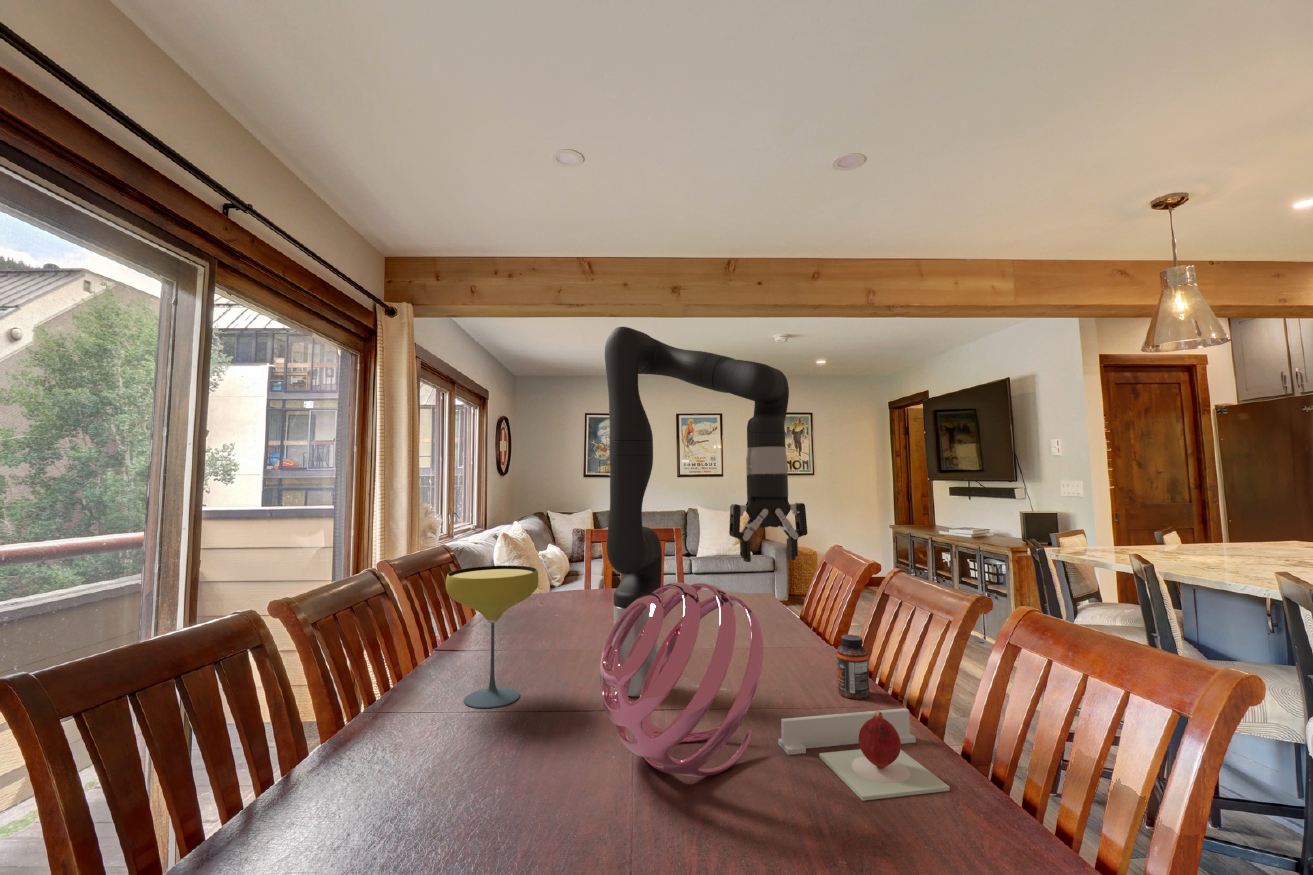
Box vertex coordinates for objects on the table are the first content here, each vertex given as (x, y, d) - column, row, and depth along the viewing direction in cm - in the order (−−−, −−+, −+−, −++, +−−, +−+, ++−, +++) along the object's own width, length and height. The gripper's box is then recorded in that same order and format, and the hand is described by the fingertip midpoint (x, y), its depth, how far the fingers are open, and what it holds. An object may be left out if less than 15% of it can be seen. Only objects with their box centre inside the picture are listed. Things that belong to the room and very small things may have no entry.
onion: (905, 779, 83) (903, 720, 84) (863, 776, 85) (861, 718, 85) (897, 760, 89) (894, 705, 90) (857, 757, 90) (855, 703, 91)
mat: (862, 800, 79) (862, 796, 79) (819, 756, 92) (819, 752, 92) (949, 790, 81) (949, 786, 82) (895, 748, 94) (895, 745, 94)
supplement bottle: (833, 690, 121) (831, 633, 122) (861, 688, 121) (859, 632, 122) (845, 700, 115) (843, 641, 116) (874, 699, 116) (872, 640, 116)
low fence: (787, 754, 93) (787, 725, 93) (778, 743, 97) (777, 715, 97) (915, 742, 96) (914, 713, 97) (901, 732, 100) (900, 704, 101)
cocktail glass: (544, 707, 113) (545, 575, 115) (444, 722, 107) (446, 581, 109) (531, 678, 130) (531, 563, 132) (443, 689, 124) (445, 568, 126)
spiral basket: (771, 605, 110) (657, 528, 103) (850, 694, 83) (703, 597, 76) (681, 726, 110) (560, 657, 103) (730, 853, 83) (572, 772, 76)
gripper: (794, 472, 115) (797, 556, 114) (724, 472, 113) (725, 559, 111) (811, 471, 108) (814, 561, 107) (736, 472, 105) (738, 564, 104)
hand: (769, 560), depth 109 cm, fingers open, 8 cm apart
